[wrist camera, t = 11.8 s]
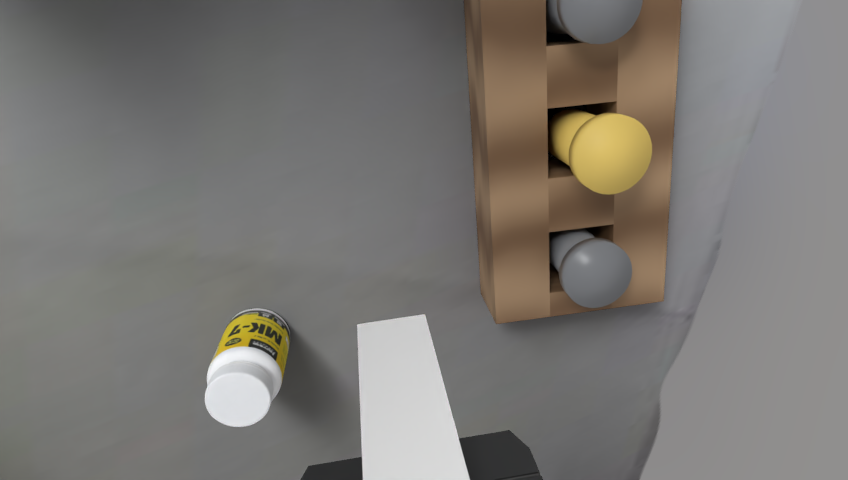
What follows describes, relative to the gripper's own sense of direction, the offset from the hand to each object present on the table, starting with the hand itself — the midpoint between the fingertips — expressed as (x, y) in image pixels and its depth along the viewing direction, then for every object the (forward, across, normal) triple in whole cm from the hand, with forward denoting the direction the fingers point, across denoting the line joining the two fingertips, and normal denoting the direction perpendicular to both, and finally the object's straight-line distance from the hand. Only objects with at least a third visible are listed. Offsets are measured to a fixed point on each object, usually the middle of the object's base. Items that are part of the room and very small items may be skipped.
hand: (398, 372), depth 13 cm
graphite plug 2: (+28, +13, -9) cm, 32 cm away
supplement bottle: (+29, -10, -14) cm, 33 cm away
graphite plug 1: (+28, +14, +7) cm, 32 cm away
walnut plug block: (+29, +13, -1) cm, 32 cm away
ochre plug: (+26, +13, -1) cm, 29 cm away
